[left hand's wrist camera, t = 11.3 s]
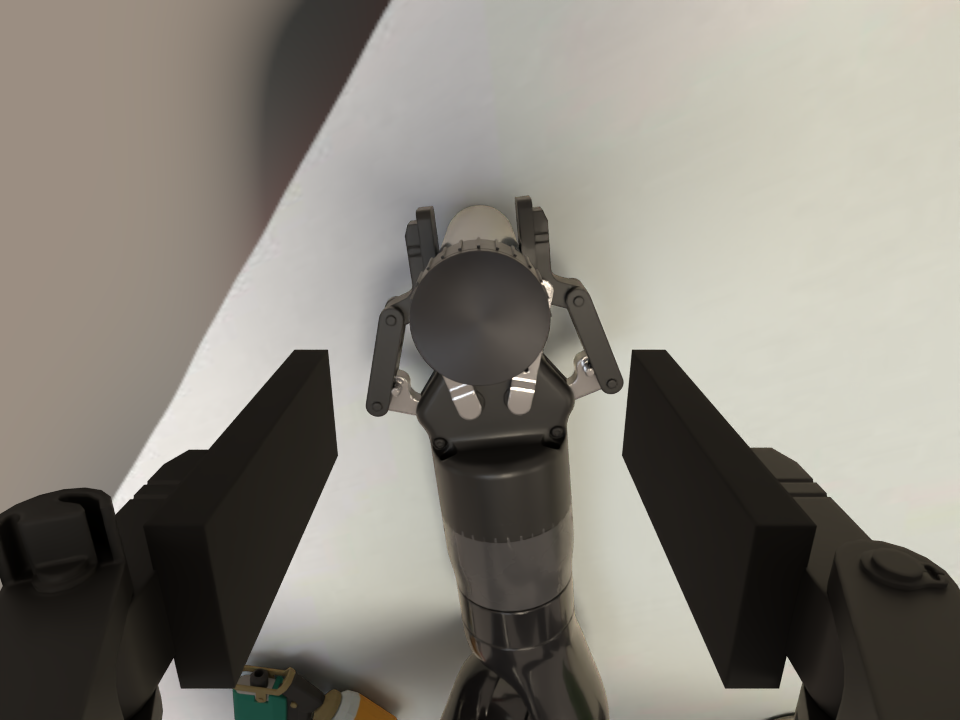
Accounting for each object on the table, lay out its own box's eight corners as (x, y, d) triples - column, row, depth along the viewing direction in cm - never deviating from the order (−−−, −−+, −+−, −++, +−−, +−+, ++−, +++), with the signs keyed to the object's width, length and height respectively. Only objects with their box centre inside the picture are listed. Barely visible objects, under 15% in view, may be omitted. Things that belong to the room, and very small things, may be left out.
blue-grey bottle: (432, 247, 36) (397, 329, 21) (472, 190, 35) (466, 233, 20) (487, 287, 37) (491, 393, 22) (528, 232, 36) (564, 305, 20)
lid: (389, 316, 23) (379, 335, 20) (465, 209, 21) (463, 217, 19) (492, 387, 24) (494, 413, 21) (572, 289, 22) (582, 306, 20)
